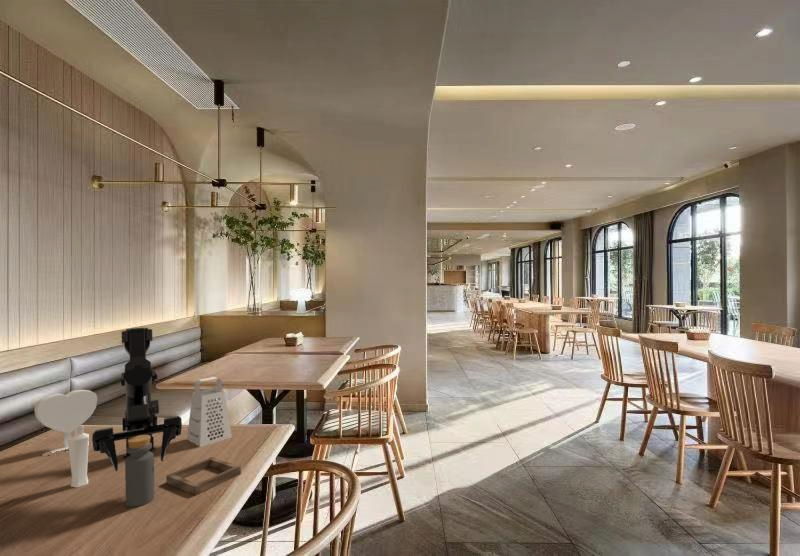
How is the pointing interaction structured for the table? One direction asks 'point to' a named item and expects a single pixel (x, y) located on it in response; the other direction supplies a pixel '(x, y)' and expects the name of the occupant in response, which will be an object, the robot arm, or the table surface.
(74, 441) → the perfume bottle
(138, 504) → the bottle
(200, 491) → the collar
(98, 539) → the table surface
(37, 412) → the heart sculpture
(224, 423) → the grater
